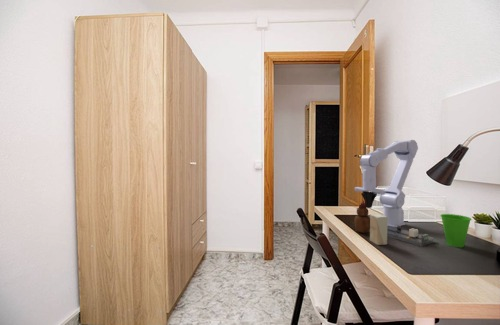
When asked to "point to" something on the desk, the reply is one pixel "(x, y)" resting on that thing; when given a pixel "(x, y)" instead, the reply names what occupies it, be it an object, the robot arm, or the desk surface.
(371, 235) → the box
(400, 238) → the console
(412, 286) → the desk surface
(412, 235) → the fader
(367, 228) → the wooden figurine
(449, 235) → the cup
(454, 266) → the desk surface
